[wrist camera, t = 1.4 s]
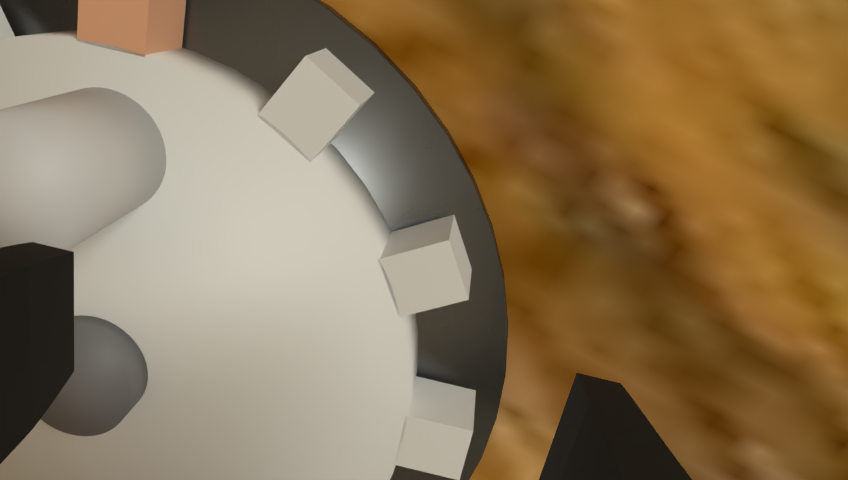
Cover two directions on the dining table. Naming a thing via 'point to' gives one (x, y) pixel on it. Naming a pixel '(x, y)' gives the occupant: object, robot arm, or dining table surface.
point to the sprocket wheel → (218, 265)
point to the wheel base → (365, 168)
